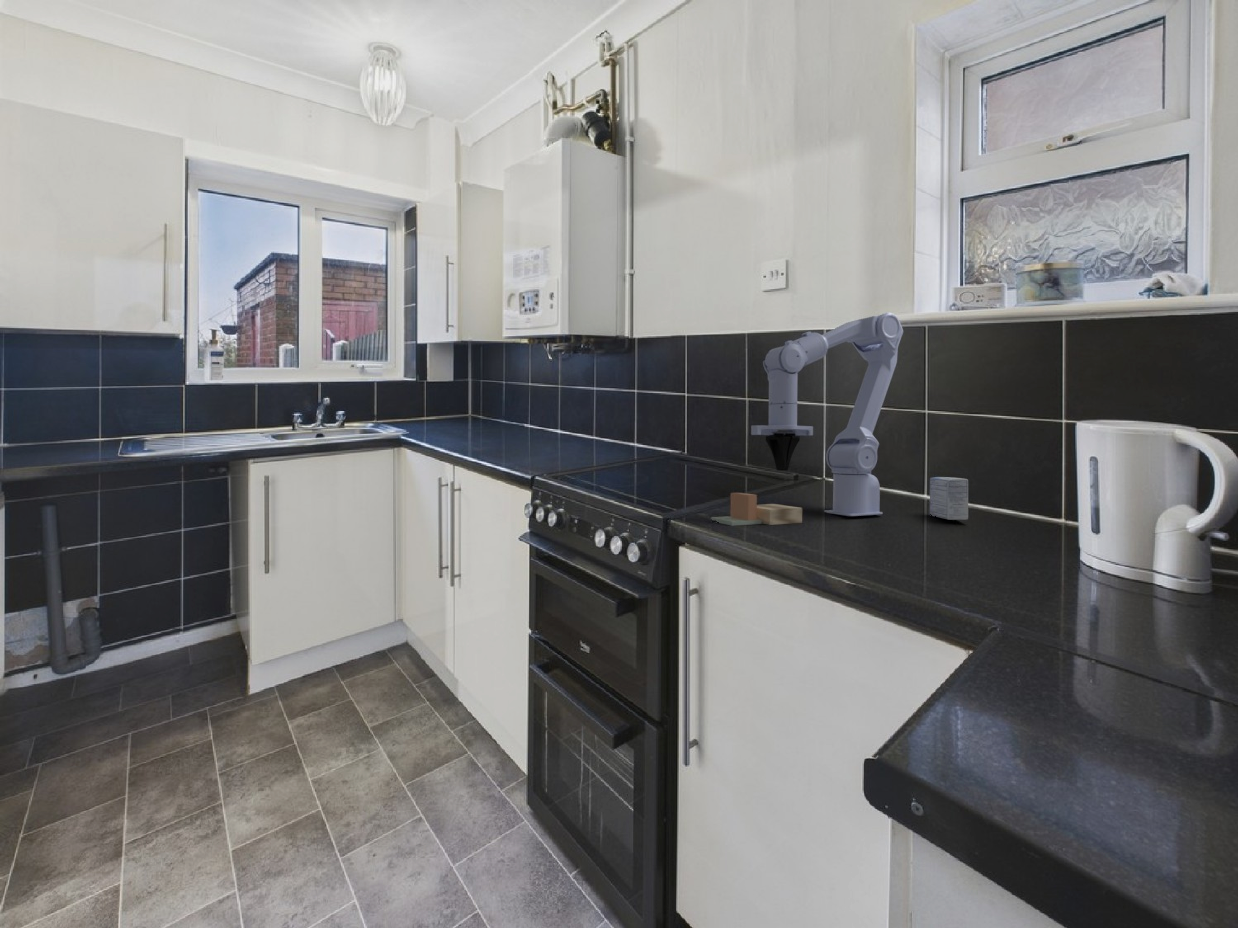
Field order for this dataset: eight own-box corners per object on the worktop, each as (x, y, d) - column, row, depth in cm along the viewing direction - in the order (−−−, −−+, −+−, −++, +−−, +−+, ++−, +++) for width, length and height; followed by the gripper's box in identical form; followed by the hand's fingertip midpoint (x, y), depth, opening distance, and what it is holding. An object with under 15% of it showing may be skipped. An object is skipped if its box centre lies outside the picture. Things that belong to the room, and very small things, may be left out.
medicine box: (968, 520, 127) (969, 479, 127) (947, 520, 127) (947, 478, 127) (949, 515, 135) (949, 477, 135) (928, 515, 135) (929, 476, 135)
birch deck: (773, 517, 130) (773, 503, 130) (802, 522, 122) (802, 507, 122) (742, 519, 127) (742, 505, 127) (770, 524, 119) (770, 509, 119)
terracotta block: (738, 492, 125) (730, 492, 124) (756, 494, 120) (748, 495, 119) (738, 516, 125) (730, 517, 125) (756, 520, 120) (748, 520, 119)
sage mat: (739, 519, 127) (739, 515, 127) (761, 523, 120) (761, 519, 120) (710, 521, 124) (710, 517, 124) (732, 525, 117) (732, 521, 117)
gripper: (797, 406, 132) (796, 468, 132) (742, 404, 126) (741, 470, 126) (820, 404, 126) (819, 470, 126) (763, 402, 120) (763, 471, 120)
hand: (782, 470), depth 126 cm, fingers closed
